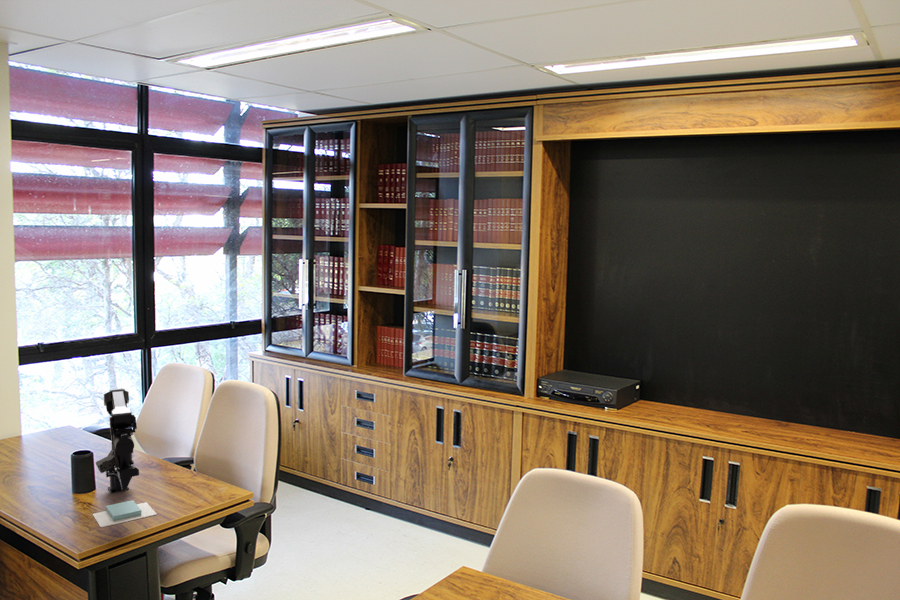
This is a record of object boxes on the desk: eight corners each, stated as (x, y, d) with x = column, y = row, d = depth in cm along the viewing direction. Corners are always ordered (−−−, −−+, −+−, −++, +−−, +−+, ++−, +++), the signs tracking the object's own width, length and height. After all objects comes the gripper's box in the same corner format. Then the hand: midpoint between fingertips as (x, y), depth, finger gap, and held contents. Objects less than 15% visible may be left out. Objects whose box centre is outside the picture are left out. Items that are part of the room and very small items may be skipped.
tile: (106, 505, 239) (113, 516, 229) (133, 500, 244) (141, 510, 235) (106, 510, 239) (113, 521, 230) (133, 504, 244) (141, 514, 235)
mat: (92, 514, 236) (92, 513, 236) (146, 502, 247) (146, 502, 247) (100, 527, 225) (100, 526, 225) (156, 514, 236) (156, 514, 236)
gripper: (92, 445, 236) (93, 487, 237) (103, 458, 221) (104, 503, 222) (126, 439, 243) (127, 481, 244) (138, 451, 228) (140, 496, 229)
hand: (124, 490), depth 235 cm, fingers closed
